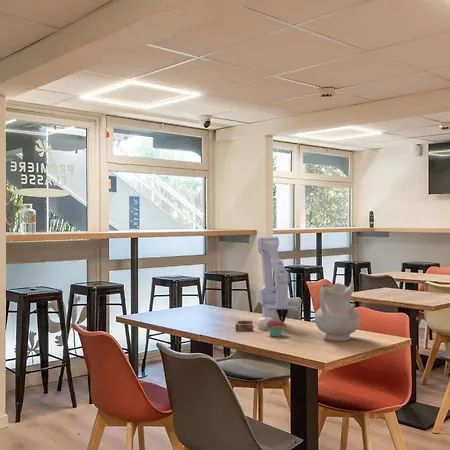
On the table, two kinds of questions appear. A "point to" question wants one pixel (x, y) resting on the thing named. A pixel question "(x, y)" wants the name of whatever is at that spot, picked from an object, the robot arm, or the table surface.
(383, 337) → the table surface
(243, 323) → the holder
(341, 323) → the ceramic pitcher
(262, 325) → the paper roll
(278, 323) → the cupcake
